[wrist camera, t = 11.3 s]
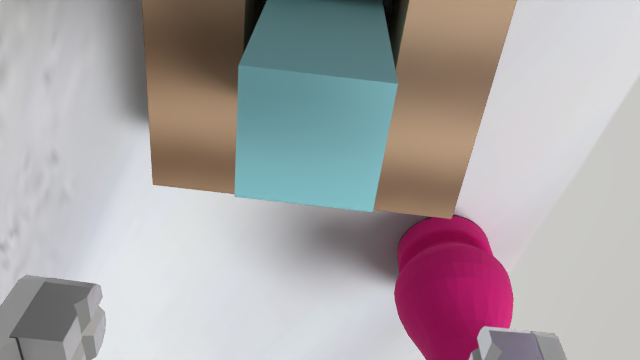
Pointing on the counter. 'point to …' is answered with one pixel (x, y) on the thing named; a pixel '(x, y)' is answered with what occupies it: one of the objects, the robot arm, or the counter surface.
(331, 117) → the teal rectangular block
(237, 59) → the wooden holder
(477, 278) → the pepper mill
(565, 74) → the counter surface
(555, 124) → the counter surface
